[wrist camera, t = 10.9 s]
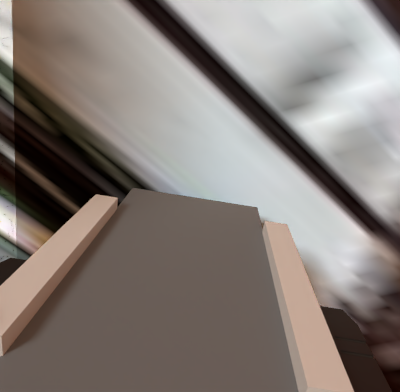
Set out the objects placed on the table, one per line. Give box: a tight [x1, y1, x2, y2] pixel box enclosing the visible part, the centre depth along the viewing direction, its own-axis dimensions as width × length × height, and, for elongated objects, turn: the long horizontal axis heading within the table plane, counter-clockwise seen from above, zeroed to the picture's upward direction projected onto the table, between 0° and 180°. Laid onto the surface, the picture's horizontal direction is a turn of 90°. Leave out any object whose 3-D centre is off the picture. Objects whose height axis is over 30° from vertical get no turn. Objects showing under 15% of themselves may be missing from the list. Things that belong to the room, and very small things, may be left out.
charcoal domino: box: [0, 188, 298, 392], centre depth 10 cm, size 2×5×10 cm, turn 82°
